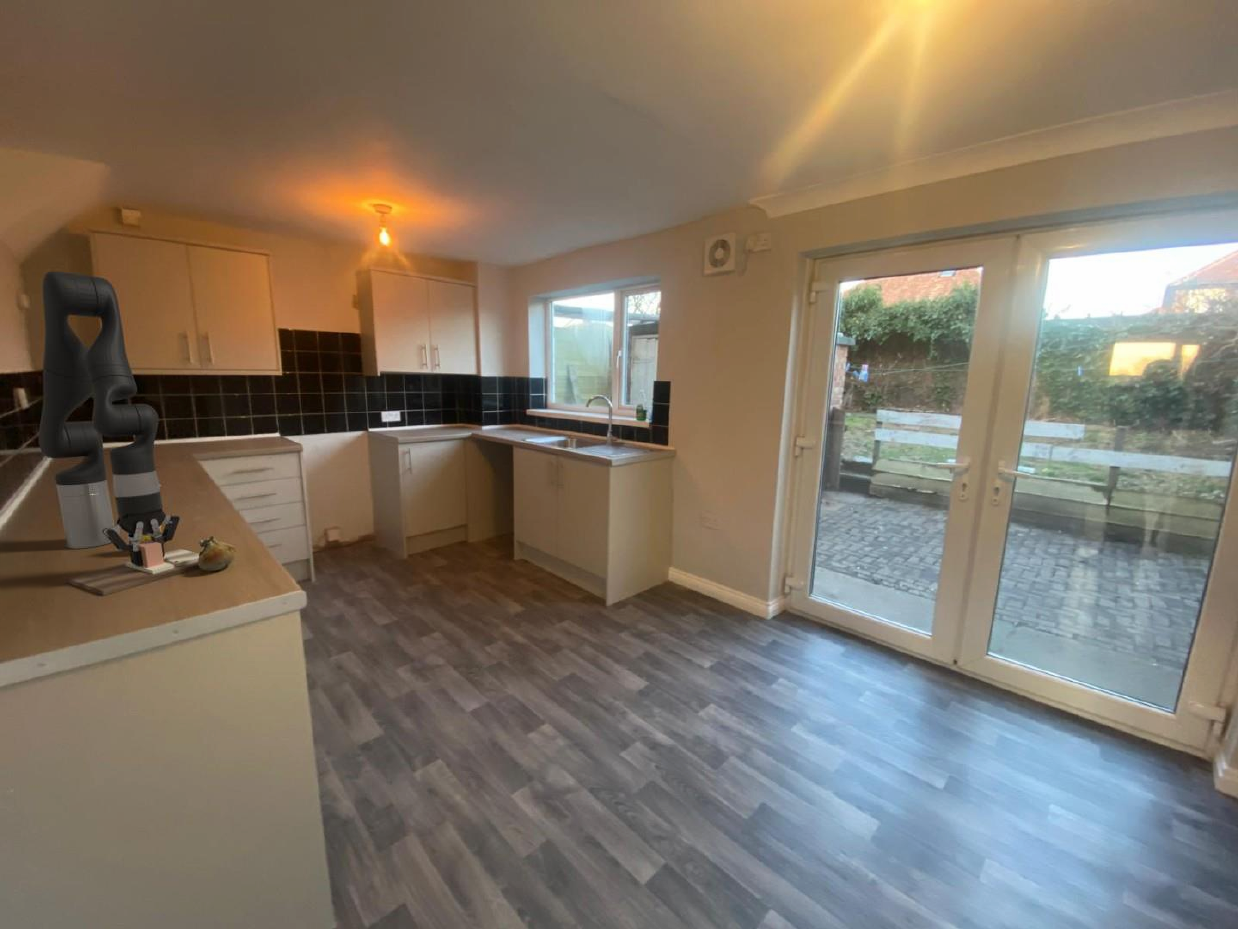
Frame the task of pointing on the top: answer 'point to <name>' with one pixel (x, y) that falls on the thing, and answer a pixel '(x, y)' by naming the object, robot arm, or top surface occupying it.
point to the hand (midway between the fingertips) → (148, 562)
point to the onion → (215, 554)
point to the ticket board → (134, 574)
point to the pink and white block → (151, 558)
